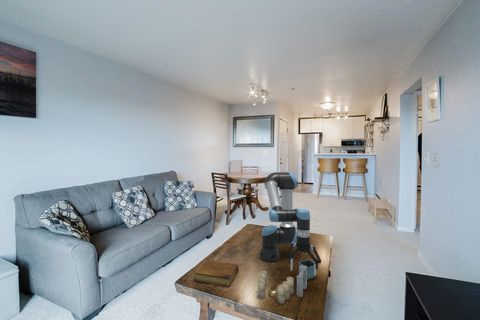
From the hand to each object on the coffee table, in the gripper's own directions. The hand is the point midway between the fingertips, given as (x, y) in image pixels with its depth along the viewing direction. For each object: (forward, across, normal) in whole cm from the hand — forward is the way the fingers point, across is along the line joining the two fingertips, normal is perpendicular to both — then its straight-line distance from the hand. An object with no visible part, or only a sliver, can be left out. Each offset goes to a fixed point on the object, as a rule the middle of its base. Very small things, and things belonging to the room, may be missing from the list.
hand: (303, 271), depth 138 cm
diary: (+10, -53, -10) cm, 54 cm away
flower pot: (+9, +1, +14) cm, 16 cm away
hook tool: (+9, 0, 0) cm, 9 cm away
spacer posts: (+9, -14, -14) cm, 22 cm away
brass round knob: (+9, -14, -14) cm, 22 cm away
